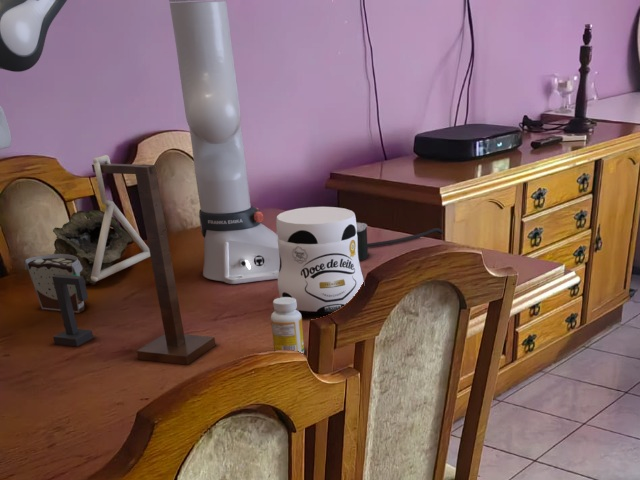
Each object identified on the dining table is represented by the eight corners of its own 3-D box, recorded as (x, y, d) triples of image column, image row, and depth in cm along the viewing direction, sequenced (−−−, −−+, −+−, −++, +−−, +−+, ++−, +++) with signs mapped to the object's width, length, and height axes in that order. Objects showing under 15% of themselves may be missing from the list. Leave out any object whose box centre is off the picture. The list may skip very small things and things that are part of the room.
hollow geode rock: (122, 277, 209) (73, 231, 205) (151, 240, 204) (101, 193, 199) (70, 309, 186) (13, 258, 181) (101, 268, 180) (43, 215, 176)
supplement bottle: (289, 361, 146) (283, 307, 141) (268, 354, 149) (262, 301, 144) (311, 352, 150) (306, 299, 144) (290, 346, 153) (285, 293, 147)
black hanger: (54, 344, 156) (37, 278, 149) (71, 335, 160) (55, 270, 153) (87, 348, 154) (71, 281, 147) (104, 338, 158) (89, 273, 151)
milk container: (332, 326, 161) (325, 229, 151) (262, 312, 169) (251, 219, 159) (381, 302, 173) (378, 210, 163) (314, 290, 181) (307, 202, 171)
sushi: (364, 262, 199) (362, 227, 195) (330, 261, 200) (328, 226, 196) (371, 253, 206) (370, 219, 201) (338, 252, 207) (336, 218, 202)
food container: (103, 304, 176) (93, 255, 170) (85, 313, 171) (73, 263, 166) (55, 299, 179) (43, 251, 174) (35, 308, 175) (22, 259, 169)
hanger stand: (104, 364, 147) (58, 165, 129) (158, 332, 161) (123, 147, 143) (176, 372, 143) (139, 168, 125) (225, 338, 157) (198, 150, 139)
